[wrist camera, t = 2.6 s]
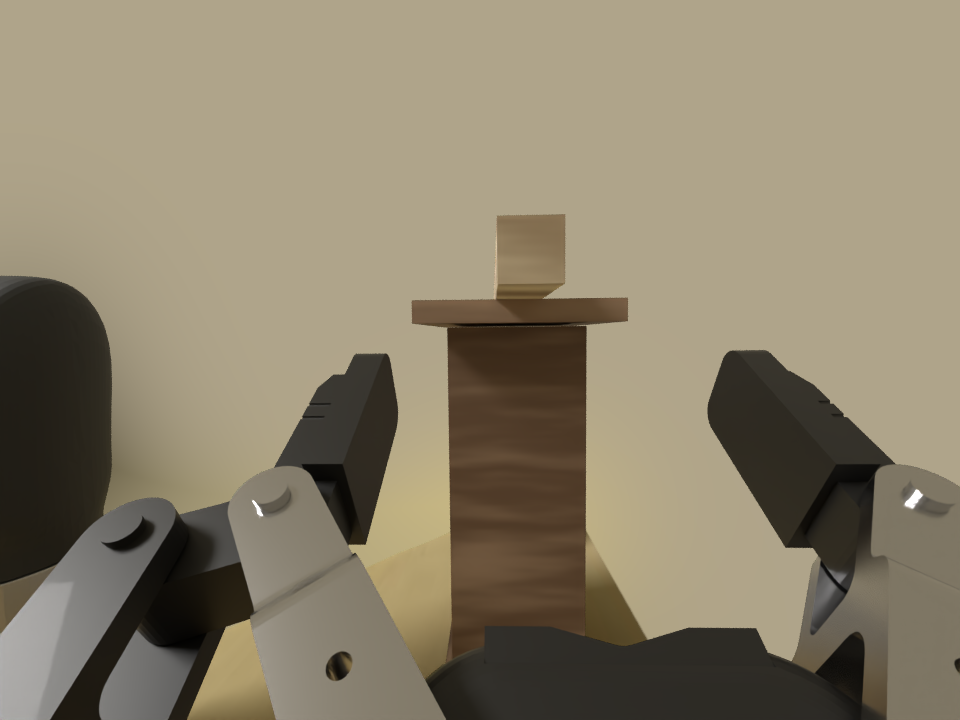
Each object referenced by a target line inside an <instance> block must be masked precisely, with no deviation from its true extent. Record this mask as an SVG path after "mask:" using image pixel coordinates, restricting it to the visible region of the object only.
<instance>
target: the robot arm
mask: <svg viewBox="0 0 960 720" xmlns="http://www.w3.org/2000/svg"><path fill="white" fill-rule="evenodd" d="M111 372H112V371H111V356H110V347H109V342H108V338H107V334H106V330H105V328H104V325H103V322H102V321H101V318H100V316H99V314H98V312H97V311H96V309H95V308H94V306H93V305H92V304H91V302H90V301H89V300H88V299H87V298H86V297H85V296H84V295H83V294H82V293H80V292H79V291H78V290H76V289H74V288H73V287H71V286H69V285H68V284H65V283H62V282H59V281H56V280H52V279H47V278H39V277H26V276H0V720H187V718H188V715H189V713H190V711H191V708H192V706H193V703H194V701H195V699H196V696H197V694H198V692H199V689H200V687H201V684H202V682H203V680H204V677H205V675H206V673H207V670H208V668H209V666H210V663H211V661H212V658H213V656H214V654H215V651H216V649H217V647H218V644H219V642H220V639H221V637H222V635H223V632H224V630H225V627H226V626H229V625H232V624H235V623H239V622H242V621H245V620H248V619H250V621H251V627H252V632H253V636H254V640H255V643H256V647H257V651H258V654H259V658H260V662H261V666H262V669H263V673H264V677H265V681H266V684H267V688H268V692H269V696H270V699H271V703H272V707H273V711H274V714H275V718H276V720H960V487H959V486H958V485H956V484H954V483H953V482H951V481H949V480H947V479H946V478H944V477H941V476H939V475H937V474H935V473H932V472H929V471H927V470H923V469H920V468H917V467H913V466H908V465H897V464H895V463H894V462H893V461H892V460H891V459H890V458H889V457H888V456H886V454H885V453H884V452H883V451H882V450H881V449H880V448H879V447H877V446H876V445H875V444H874V443H873V442H872V441H871V440H870V439H869V438H868V437H867V436H866V435H865V434H864V433H863V432H862V431H861V430H860V429H859V428H858V427H857V426H856V425H855V424H854V423H853V422H852V421H851V420H850V419H849V418H847V417H844V416H843V413H842V412H841V411H840V410H839V409H838V408H837V407H836V406H835V405H834V404H830V400H829V399H828V398H827V397H826V396H825V395H824V394H823V393H822V392H821V391H820V390H819V389H817V388H816V387H815V386H814V385H813V384H811V383H810V382H808V381H806V380H804V379H803V378H801V377H799V376H798V375H795V374H794V373H792V372H791V371H788V370H786V368H785V367H784V366H783V365H782V364H781V363H780V362H779V361H777V359H776V358H775V357H773V355H772V354H771V353H769V352H768V351H765V350H749V351H748V350H746V351H729V352H728V353H727V354H726V355H725V356H724V358H723V361H722V364H721V367H720V370H719V372H718V375H717V378H716V382H715V384H714V387H713V390H712V393H711V396H710V399H709V402H708V420H709V423H710V426H711V428H712V430H713V431H714V433H715V435H716V436H717V438H718V439H719V441H720V443H721V444H722V446H723V448H724V449H725V451H726V452H727V454H728V456H729V457H730V459H731V460H732V462H733V464H734V465H735V467H736V468H737V470H738V472H739V473H740V475H741V477H742V478H743V480H744V481H745V483H746V485H747V486H748V488H749V489H750V491H751V493H752V494H753V496H754V497H755V499H756V501H757V502H758V504H759V506H760V507H761V509H762V510H763V512H764V514H765V515H766V517H767V518H768V520H769V522H770V523H771V525H772V526H773V528H774V530H775V531H776V533H777V534H778V536H779V538H780V539H781V541H782V543H783V544H784V546H785V547H786V548H813V549H814V550H815V551H816V553H817V554H818V557H817V559H816V560H815V562H814V563H813V565H812V568H811V574H810V580H809V586H808V592H807V597H806V603H805V609H804V615H803V621H802V627H801V633H800V639H799V643H798V647H797V650H796V653H795V655H794V658H793V660H792V662H791V661H789V660H786V659H784V658H781V657H779V656H776V655H773V654H770V653H767V650H766V648H765V646H764V644H763V642H762V640H761V638H760V636H759V633H758V631H757V630H756V628H686V629H683V630H679V631H676V632H673V633H670V634H666V635H663V636H660V637H657V638H653V639H650V640H646V641H643V642H640V643H636V644H633V645H629V646H618V645H614V644H610V643H607V642H603V641H600V640H596V639H593V638H589V637H585V636H582V635H578V634H575V633H571V632H568V631H564V630H561V629H557V628H554V627H549V626H485V639H484V646H482V647H479V648H476V649H472V650H470V651H468V652H465V653H463V654H461V655H459V656H457V657H455V658H453V659H452V660H450V661H448V662H447V663H445V664H444V665H442V666H441V667H439V668H438V669H437V670H436V671H435V672H433V673H432V674H431V675H430V676H429V677H427V678H426V679H424V677H423V675H422V674H421V672H420V670H419V668H418V666H417V664H416V662H415V660H414V659H413V657H412V655H411V653H410V651H409V649H408V647H407V646H406V644H405V642H404V640H403V638H402V636H401V634H400V632H399V631H398V629H397V627H396V625H395V623H394V621H393V619H392V618H391V616H390V614H389V612H388V610H387V608H386V606H385V604H384V603H383V601H382V599H381V597H380V595H379V593H378V591H377V590H376V588H375V586H374V584H373V582H372V580H371V578H370V576H369V575H368V573H367V571H366V569H365V567H364V565H363V564H362V562H361V560H360V559H359V557H358V556H357V554H356V553H354V554H352V552H351V550H350V549H349V547H348V545H349V544H350V545H352V544H353V545H354V544H357V545H361V544H362V545H363V544H364V545H365V544H366V541H367V537H368V534H369V530H370V526H371V523H372V519H373V515H374V511H375V508H376V504H377V500H378V496H379V492H380V489H381V485H382V481H383V477H384V474H385V470H386V466H387V462H388V459H389V455H390V451H391V447H392V444H393V440H394V436H395V432H396V428H397V422H398V406H397V399H396V393H395V387H394V382H393V375H392V369H391V363H390V359H389V356H388V355H387V354H356V355H354V357H353V359H352V361H351V363H350V366H349V367H348V369H347V371H346V373H345V375H333V376H331V377H330V378H329V379H328V380H327V381H326V382H324V383H323V384H322V385H321V386H320V387H318V389H317V390H316V392H315V394H314V396H313V398H312V400H311V401H310V403H309V404H310V406H308V407H307V409H306V411H305V412H304V414H303V416H302V417H303V418H302V419H301V420H300V421H299V423H298V425H297V427H296V429H295V430H294V432H293V434H292V436H291V438H290V439H289V442H288V443H287V445H286V447H285V449H284V450H283V452H282V454H281V456H280V458H279V460H278V461H277V463H276V465H275V467H274V468H272V469H269V470H266V471H263V472H261V473H259V474H257V475H255V476H254V477H252V478H250V479H249V480H248V481H246V482H245V483H244V484H243V485H242V486H241V487H240V488H239V489H238V490H237V491H236V492H235V494H234V495H233V497H232V499H231V500H230V501H229V502H226V503H223V504H219V505H215V506H212V507H207V508H203V509H200V510H195V511H192V512H188V513H184V514H180V515H179V514H178V512H177V511H176V509H175V507H174V506H173V505H172V503H170V502H169V501H167V500H165V499H162V498H144V499H139V500H135V501H132V502H129V503H126V504H124V505H122V506H120V507H118V508H116V509H114V510H112V511H110V512H109V513H107V514H105V515H104V516H103V510H104V503H105V500H106V496H107V492H108V487H109V482H110V477H111V467H112V458H111V457H112V453H111V400H112V399H111V397H112V377H111V376H112V373H111Z"/></svg>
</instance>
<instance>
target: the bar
mask: <svg viewBox="0 0 960 720" xmlns="http://www.w3.org/2000/svg"><path fill="white" fill-rule="evenodd" d="M495 256H496V257H495V280H494V299H543V298H544V297H546V296H547V295H549V294H550V293H552V292H553V291H554V290H556V289H557V288H559V287H560V286H562V285H563V284H565V214H561V215H507V216H497V229H496V254H495Z"/></svg>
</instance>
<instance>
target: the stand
mask: <svg viewBox="0 0 960 720" xmlns="http://www.w3.org/2000/svg"><path fill="white" fill-rule="evenodd" d="M623 321H628V298H576V299H575V298H574V299H572V298H570V299H493V300H492V299H491V300H415V301H412V323H413V324H421V325H429V326H438V327H455V328H448V329H447V333H448V393H449V394H448V399H449V461H450V462H449V464H450V529H451V531H450V532H451V598H452V623H451V630H450V637H449V645H448V652H447V659H446V663H447V662H448V661H450V660H452V659H453V658H455V657H457V656H459V655H461V654H463V653H465V652H468V651H470V650H472V649H476V648H479V647H482V646H484V639H485V626H549V627H554V628H557V629H561V630H564V631H568V632H571V633H575V634H578V635H582V636H585V537H586V519H585V518H586V515H585V514H586V326H577V325H589V324H600V323H611V322H623ZM527 326H546V327H527Z"/></svg>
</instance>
